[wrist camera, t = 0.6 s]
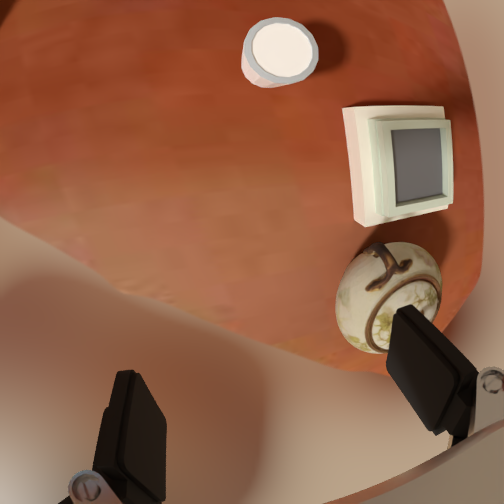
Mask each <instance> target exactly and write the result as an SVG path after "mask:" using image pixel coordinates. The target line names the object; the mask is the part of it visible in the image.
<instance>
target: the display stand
mask: <svg viewBox="0 0 504 504" xmlns="http://www.w3.org/2000/svg"><path fill="white" fill-rule="evenodd" d="M342 111H343V118H344V124H345V132H346V139H347V147H348V156H349V165H350V174H351V185H352V197H353V210H354V220H355V221H357V222H358V223H360V224H361V225H363V226H364V227H368V226H373V225H377V224H382V223H386V222H390V221H395V220H399V219H404V218H408V217H412V216H417V215H421V214H426V213H430V212H434V211H439V210H443V209H448V204H452V203H453V152H452V135H451V123H450V120H445V115H444V107H443V106H362V107H348V108H342Z"/></svg>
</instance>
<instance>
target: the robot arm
mask: <svg viewBox="0 0 504 504" xmlns="http://www.w3.org/2000/svg"><path fill="white" fill-rule="evenodd" d="M386 368H387V371H388V373H389V374H390V375H391V377H392V378H393V380H394V381H395V382H396V384H397V386H398V387H399V388H400V390H401V391H402V393H403V394H404V396H405V397H406V399H407V400H408V402H409V403H410V404H411V406H412V407H413V409H414V410H415V412H416V413H417V415H418V416H419V418H420V419H421V421H422V422H423V424H424V425H425V427H426V428H427V429H428V430H429V431H433V433H434V434H435V435H436V436H437V435H438V434H440V433H442V432H444V431H445V430H447V431H448V433H449V434H450V436H449V442H448V447H447V450H446V451H444V452H442V453H441V454H439V455H437V456H435V457H434V458H432V459H430V460H428V461H426V462H424V463H422V464H420V465H418V466H416V467H414V468H412V469H410V470H408V471H406V472H404V473H402V474H400V475H398V476H396V477H393V478H391V479H389V480H387V481H384V482H382V483H380V484H377V485H375V486H372V487H370V488H367V489H365V490H362V491H359V492H357V493H354V494H351V495H348V496H346V497H343V498H340V499H337V500H334V501H330V502H327V503H324V504H504V370H502V369H500V368H497V367H487V368H484V369H483V370H482V371H480V373H479V372H478V371H477V370H476V368H475V367H474V366H473V364H472V363H471V362H470V361H469V360H468V359H467V358H466V357H465V356H464V355H463V354H462V353H461V352H460V351H459V350H458V349H457V348H456V347H455V346H454V345H453V344H452V343H451V342H450V341H449V340H448V339H447V338H446V337H445V336H444V335H443V334H442V333H441V332H440V331H439V330H438V329H437V328H436V327H435V326H434V325H433V324H432V323H431V322H430V321H429V320H428V319H427V318H426V317H425V316H424V315H423V314H422V313H421V312H420V311H419V310H418V309H417V308H416V307H415V306H413V305H412V304H409V305H406V306H404V307H401V308H398V309H397V310H396V313H395V314H394V315H393V320H392V328H391V335H390V342H389V349H388V355H387V361H386ZM166 433H167V424H166V419H165V417H164V415H163V413H162V412H161V410H160V408H159V407H158V405H157V404H156V401H155V400H154V398H153V396H152V395H151V393H150V391H149V389H148V387H147V386H146V384H145V382H144V380H143V378H142V376H141V375H140V374H139V373H135V371H134V370H125V371H118V372H117V374H116V378H115V382H114V386H113V390H112V394H111V398H110V402H109V407H107V408H106V409H105V411H104V413H103V418H102V422H101V427H100V431H99V436H98V441H97V446H96V451H95V456H94V462H93V468H92V471H91V470H84V471H80V472H78V473H77V474H75V475H74V476H73V477H72V479H71V480H70V482H69V485H68V493H69V496H68V497H67V498H65V499H64V500H63V501H61V502H60V503H58V504H162V502H163V501H165V499H166Z"/></svg>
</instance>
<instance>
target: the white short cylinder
mask: <svg viewBox="0 0 504 504" xmlns="http://www.w3.org/2000/svg"><path fill="white" fill-rule="evenodd" d="M317 62H318V46H317V44H316V41H315V39H314V37H313V35H312V34H311V33H310V32H309V31H308V30H307V29H306V28H305V27H304V26H303V25H301V24H299V23H297V22H295V21H293V20H291V19H287V18H278V17H274V18H270V19H266V20H262V21H260V22H259V23H257V24H256V25H255V26H253V27H252V28H251V29H250V30H249V32H248V34H247V36H246V38H245V40H244V46H243V53H242V70H243V73H244V75H245V77H246V78H247V79H248V80H249V81H250V82H251V83H252V84H255V85H257V86H259V87H263V88H274V87H278V86H283V85H288V84H292V83H295V82H298V81H301V80H304V79H305V78H306V77H307V76H308V75H310V74H311V73H312V72H313V71H314V69H315V66H316V64H317Z"/></svg>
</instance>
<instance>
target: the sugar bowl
mask: <svg viewBox="0 0 504 504" xmlns="http://www.w3.org/2000/svg"><path fill="white" fill-rule="evenodd" d="M441 296H442V278H441V273H440V270H439V267H438V265H437V263H436V262H435V260H434V258H433V257H432V256H431V255H430V254H429V253H428V252H427V251H426V250H425V249H423V248H421V247H420V246H418V245H415V244H412V243H406V242H393V243H387V244H383V243H381V242H376V243H373V244H372V245H371V246H370V247H367V248H366V249H365V250H364V251H363V253H362V254H360V255H358V256H357V257H356V258H355V259H354V260H353V261H352V262H351V263H350V264H349V265H348V267H347V268H346V270H345V272H344V275H343V277H342V279H341V282H340V284H339V287H338V291H337V296H336V306H335V311H336V318H337V322H338V326H339V328H340V330H341V332H342V334H343V336H344V337H345V338H346V340H347V341H348V342H349V343H351V344H352V345H353V346H354V347H356V348H358V349H360V350H362V351H365V352H369V353H378V354H380V353H388V349H389V342H390V335H391V328H392V320H393V315H394V314H395V313H396V310H397V309H398V308H401V307H404V306H406V305H409V304H412V305H413V306H415V307H416V308H417V309H418V310H419V311H420V312H421V313H422V314H423V315H424V316H425V317H426V318H427V319H428V320H429V321H430V322H431V323H433V321H434V319H435V317H436V315H437V313H438V310H439V308H440V304H441Z"/></svg>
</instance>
